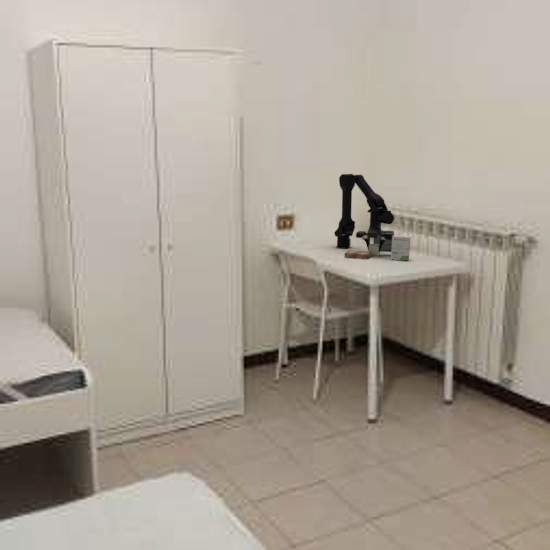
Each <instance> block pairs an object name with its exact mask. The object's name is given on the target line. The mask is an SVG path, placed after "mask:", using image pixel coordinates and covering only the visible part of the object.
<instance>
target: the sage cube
mask: <svg viewBox="0 0 550 550" xmlns="http://www.w3.org/2000/svg"><path fill="white" fill-rule="evenodd" d="M379 245H380V244H374V243H370V245H369V252H372V256H379V255H380V254H381V251H380V252H379Z"/></svg>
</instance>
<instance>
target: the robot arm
mask: <svg viewBox="0 0 550 550" xmlns="http://www.w3.org/2000/svg"><path fill="white" fill-rule="evenodd" d="M338 179H339V180H338V181H339V187H340V189H341V192H342V193H341V196H342V197H341V199H342V201H341V202H342V205H341V218H340V220H339V222H338V227H337V229H336V230H334V236H335V237H336V238H337V241H336V246H335V248H336V247H339V248H338V249H349V248H351V245H352V244H351V240H352V239H351V237H353V234H354V231H355V229H356V221H355V220H353V218H352V203H353V202H352V201H353V200H352V194H353V193H352V192H353V189H354V187H355V186H357V187H358V189H359V190H360V191H361V193H362V194H363V195H364V197H365V198H366V204H367V205H368V206H369V207H368V208H369V209H368V210H367V211H366V212H367V213H370V215H369V217H370V218H369V227H368V229H367V232H366V231H365V230H357V232H356V234H355V237H356V239H357V238H359V239H361V240H364V242H365V245H366V247H367V251H369V245H370V244H371V239H374V238H377V237H380V238H381V239H380V245H379V252H380V253H381V252H382V251H381V248H382V246H383V244H384V242H385V241H386V240H392V237H393V236H395V233H394V234H393V233H385V234H382V231H383V230H382V224H383V225H384V224H385V225H392V223H393V222H394V220H395V217H394V214H393V213H392V210H388V207H387V204H386V202H385V200H384V198H383V197H382V196H381V195H380V194H378V193H377V192H375V191H374V189H373V188H372V187H371V185H370V184H368V182H367V180H366V179H365V177H364V175H362V174H353V173H343V174H341V175H340V176H339V177H338ZM348 247H349V248H348Z"/></svg>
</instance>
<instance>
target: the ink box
mask: <svg viewBox="0 0 550 550" xmlns="http://www.w3.org/2000/svg"><path fill="white" fill-rule="evenodd" d="M410 248H411V236H408V235H407V236H405V235H404V236H403V235H394V236H393V237H392V249H391V251H390V260H391V259H394V260H393V261H400V260H408V261H409V260H410Z"/></svg>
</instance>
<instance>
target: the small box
mask: <svg viewBox="0 0 550 550" xmlns="http://www.w3.org/2000/svg"><path fill="white" fill-rule="evenodd" d="M385 233H393V234H394V235H395V231H394V230H382V234H385ZM380 239H381V238H380V237H377V238H373V244H380ZM391 249H392V240H386V241H385V242H384V244H383V246H382V248H381V251H380V252H391Z"/></svg>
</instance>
